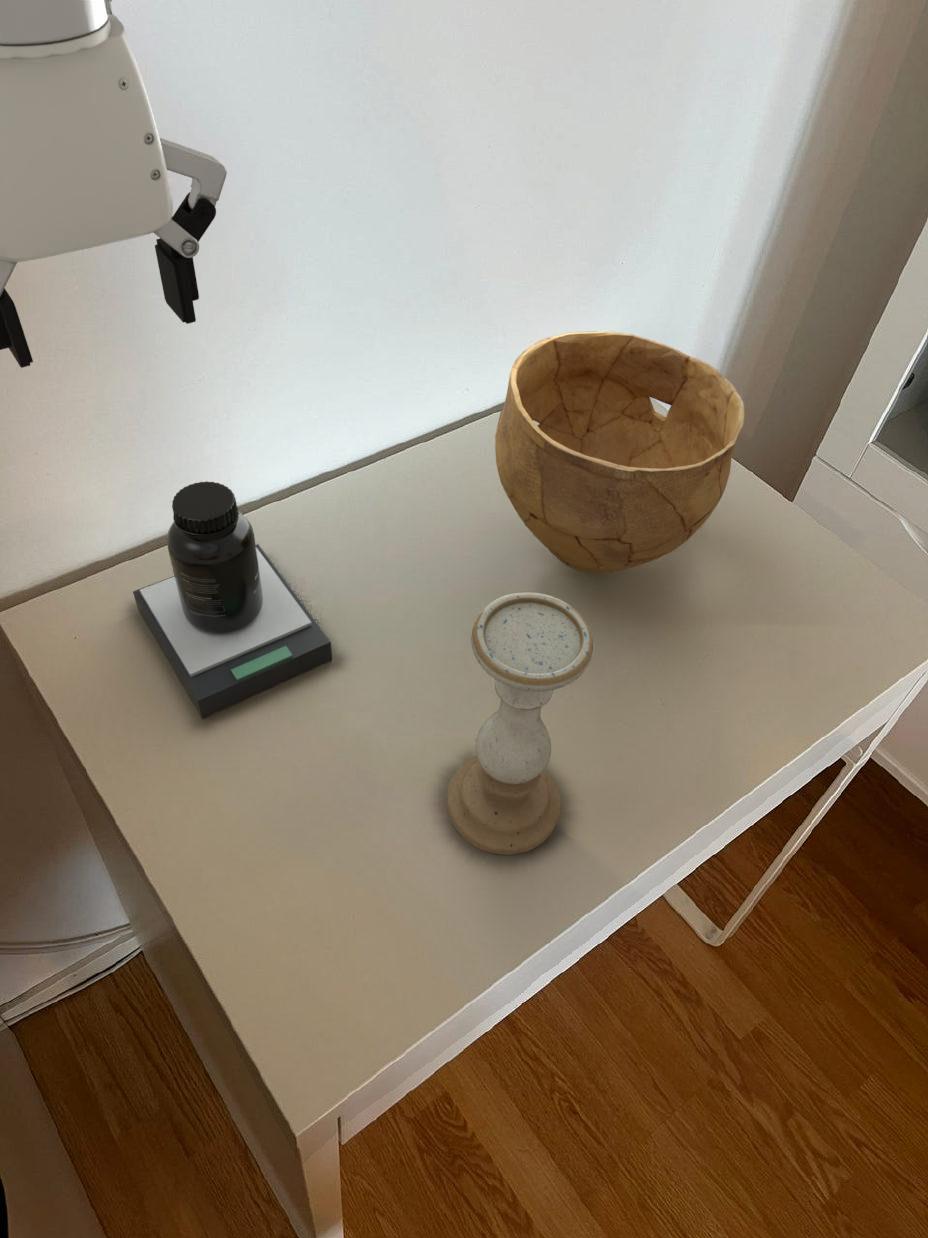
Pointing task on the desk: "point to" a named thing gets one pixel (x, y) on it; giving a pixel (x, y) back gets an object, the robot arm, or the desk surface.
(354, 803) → the desk surface
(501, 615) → the candle holder
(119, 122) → the robot arm
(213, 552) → the supplement bottle
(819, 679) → the desk surface
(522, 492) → the bowl
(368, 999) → the desk surface
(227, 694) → the scale
